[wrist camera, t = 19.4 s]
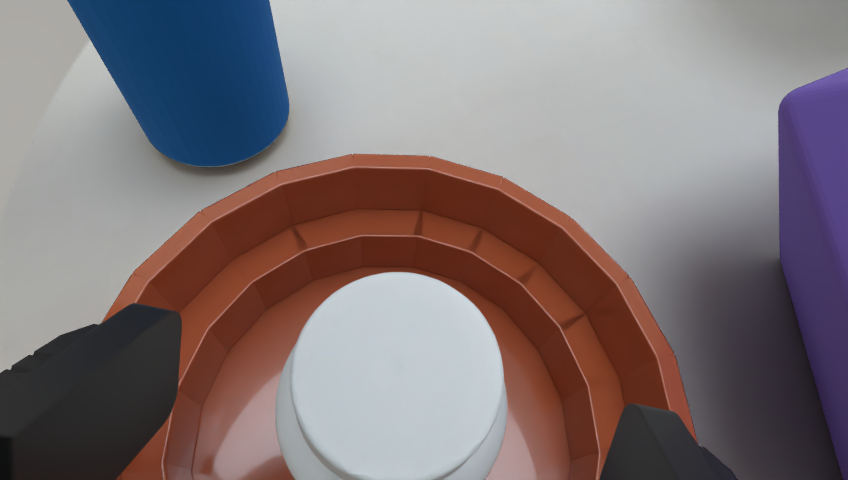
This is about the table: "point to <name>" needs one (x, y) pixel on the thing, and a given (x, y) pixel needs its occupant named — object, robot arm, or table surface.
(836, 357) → the purple diamond gem
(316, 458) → the pill bottle
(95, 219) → the table surface
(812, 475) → the table surface
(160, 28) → the beverage can
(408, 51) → the table surface
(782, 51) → the table surface
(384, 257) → the bowl
